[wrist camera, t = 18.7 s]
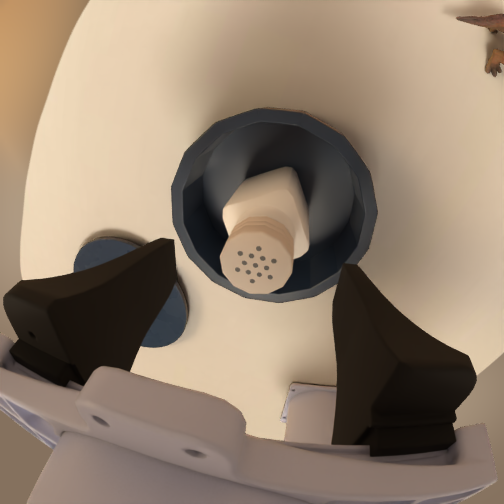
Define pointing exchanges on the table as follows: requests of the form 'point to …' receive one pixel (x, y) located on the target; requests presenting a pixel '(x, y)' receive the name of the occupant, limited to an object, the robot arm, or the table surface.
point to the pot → (264, 160)
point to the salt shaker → (265, 231)
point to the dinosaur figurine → (493, 23)
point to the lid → (172, 313)
